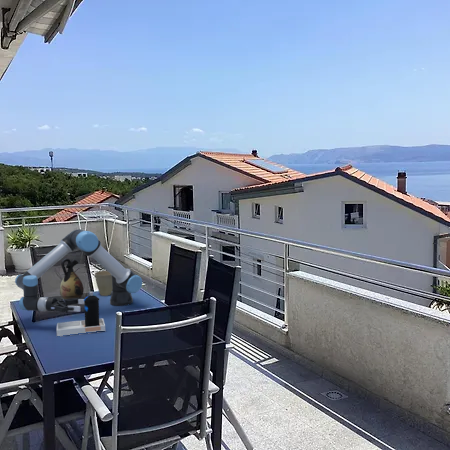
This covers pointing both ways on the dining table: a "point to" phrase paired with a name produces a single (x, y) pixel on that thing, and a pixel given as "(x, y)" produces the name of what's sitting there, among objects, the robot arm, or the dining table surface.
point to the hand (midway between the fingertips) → (85, 305)
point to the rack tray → (78, 327)
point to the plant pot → (104, 282)
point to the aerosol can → (91, 310)
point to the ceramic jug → (70, 281)
